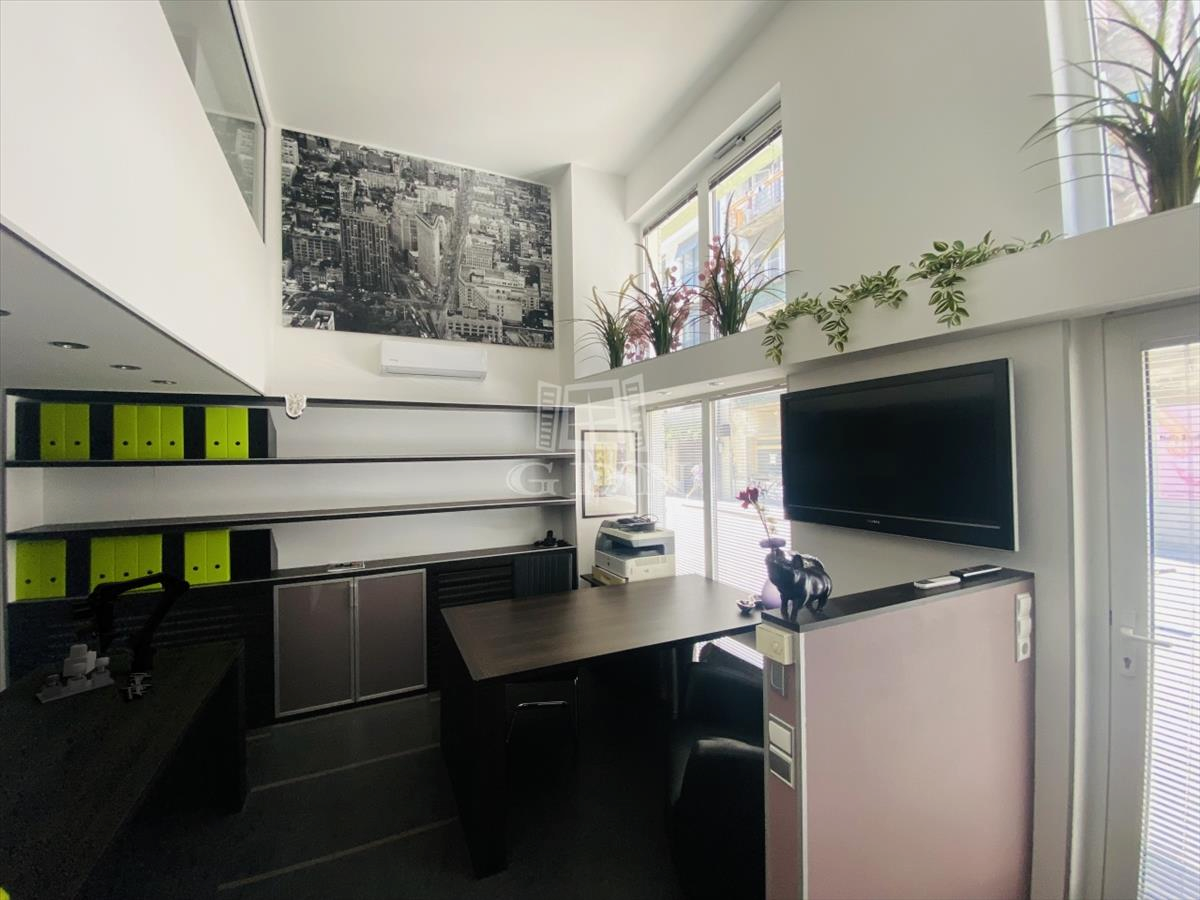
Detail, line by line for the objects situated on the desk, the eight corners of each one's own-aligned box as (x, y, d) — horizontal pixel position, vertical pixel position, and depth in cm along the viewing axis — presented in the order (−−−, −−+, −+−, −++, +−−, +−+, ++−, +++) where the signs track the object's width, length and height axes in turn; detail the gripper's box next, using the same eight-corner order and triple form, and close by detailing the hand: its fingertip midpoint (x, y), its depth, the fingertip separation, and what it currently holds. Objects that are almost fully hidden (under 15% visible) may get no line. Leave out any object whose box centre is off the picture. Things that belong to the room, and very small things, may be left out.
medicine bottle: (72, 670, 198) (74, 641, 198) (95, 667, 201) (97, 639, 201) (62, 677, 191) (64, 648, 192) (86, 674, 194) (87, 645, 195)
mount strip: (107, 677, 193) (108, 666, 193) (114, 683, 188) (115, 672, 188) (36, 696, 176) (37, 685, 177) (42, 703, 172) (42, 691, 172)
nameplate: (117, 676, 191) (151, 669, 198) (117, 680, 191) (150, 673, 198) (119, 701, 173) (156, 692, 180) (119, 705, 172) (156, 696, 180)
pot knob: (57, 683, 179) (58, 673, 179) (59, 685, 177) (60, 675, 177) (44, 686, 176) (45, 676, 176) (46, 689, 175) (47, 678, 175)
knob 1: (83, 676, 185) (84, 661, 185) (86, 679, 183) (87, 664, 183) (68, 680, 182) (69, 665, 182) (71, 683, 180) (72, 668, 180)
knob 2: (106, 670, 191) (107, 656, 191) (109, 672, 189) (110, 658, 189) (92, 674, 187) (93, 659, 187) (95, 676, 185) (96, 662, 185)
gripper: (68, 615, 186) (66, 654, 186) (82, 624, 177) (79, 666, 176) (108, 608, 196) (105, 645, 196) (122, 617, 186) (120, 656, 186)
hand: (102, 653), depth 188 cm, fingers closed
